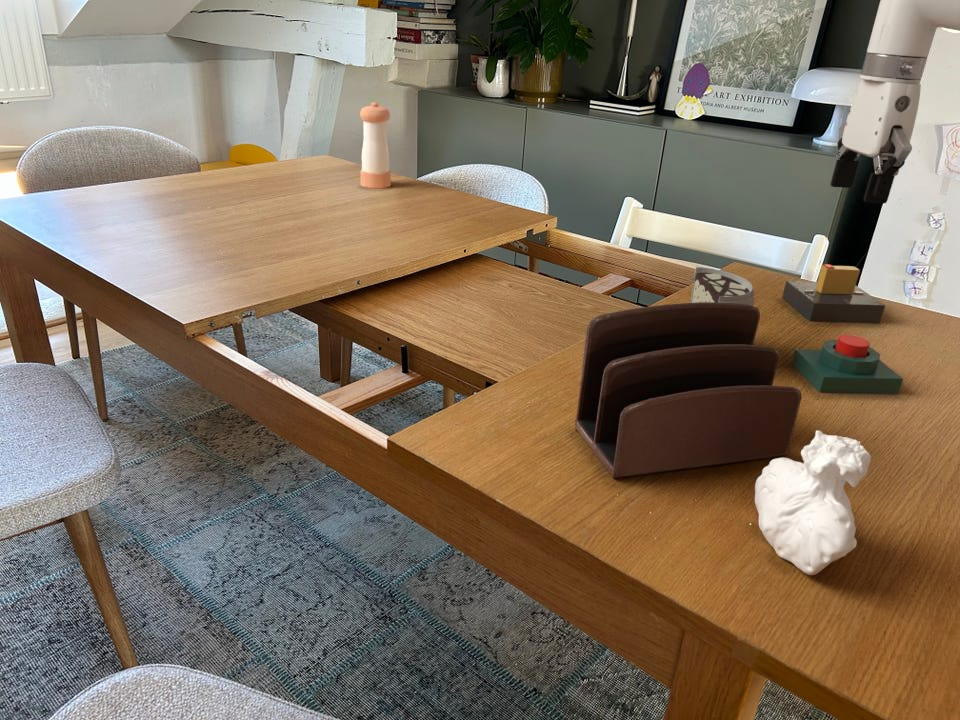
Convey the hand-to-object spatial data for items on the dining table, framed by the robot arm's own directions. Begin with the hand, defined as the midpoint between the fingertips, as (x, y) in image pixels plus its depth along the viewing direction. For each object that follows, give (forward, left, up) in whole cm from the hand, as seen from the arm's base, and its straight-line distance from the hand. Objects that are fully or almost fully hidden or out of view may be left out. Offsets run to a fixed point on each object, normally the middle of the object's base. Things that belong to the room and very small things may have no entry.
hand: (856, 194), depth 108 cm
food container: (+24, +17, -18) cm, 35 cm away
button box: (+10, +24, -18) cm, 32 cm away
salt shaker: (+77, -76, -18) cm, 109 cm away
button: (+10, +24, -15) cm, 30 cm away
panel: (0, 0, -18) cm, 18 cm away
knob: (0, 0, -15) cm, 15 cm away
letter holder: (+36, +40, -18) cm, 57 cm away
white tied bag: (+30, +56, -18) cm, 66 cm away
